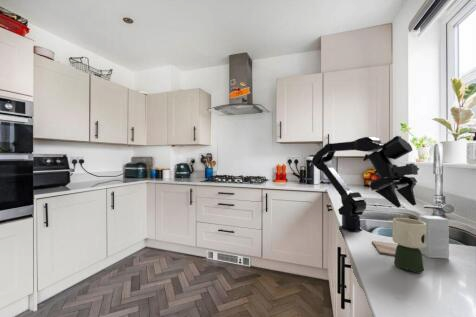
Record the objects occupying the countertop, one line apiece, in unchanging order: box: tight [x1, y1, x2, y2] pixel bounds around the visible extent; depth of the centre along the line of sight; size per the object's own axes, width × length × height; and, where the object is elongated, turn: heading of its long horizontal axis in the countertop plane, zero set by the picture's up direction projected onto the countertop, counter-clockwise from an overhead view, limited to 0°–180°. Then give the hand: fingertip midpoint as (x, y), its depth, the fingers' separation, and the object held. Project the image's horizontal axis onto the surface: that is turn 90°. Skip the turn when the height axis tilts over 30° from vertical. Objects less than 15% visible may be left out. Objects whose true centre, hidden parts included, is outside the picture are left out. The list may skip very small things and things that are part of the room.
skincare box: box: [417, 215, 450, 259], centre depth 65 cm, size 6×4×12 cm
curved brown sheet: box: [371, 240, 398, 257], centre depth 69 cm, size 10×8×1 cm
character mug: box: [392, 217, 426, 273], centre depth 57 cm, size 11×7×13 cm, turn 146°
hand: (407, 206), depth 71 cm, fingers open, 9 cm apart
